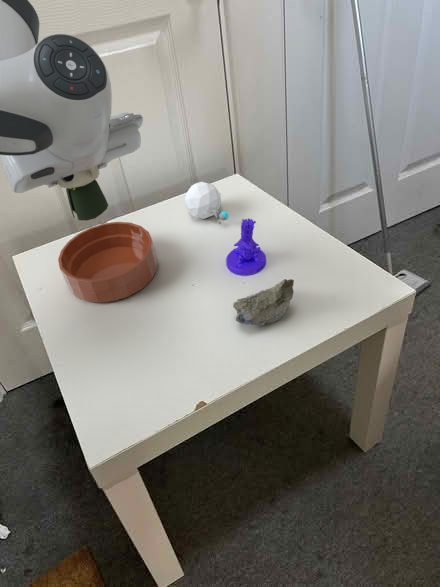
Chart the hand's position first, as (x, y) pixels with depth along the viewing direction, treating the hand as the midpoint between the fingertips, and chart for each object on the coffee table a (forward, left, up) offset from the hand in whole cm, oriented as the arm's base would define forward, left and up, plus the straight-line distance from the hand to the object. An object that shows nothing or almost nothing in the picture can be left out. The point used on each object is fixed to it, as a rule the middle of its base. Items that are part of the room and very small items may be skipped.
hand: (75, 173), depth 74 cm
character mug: (0, -1, -8) cm, 8 cm away
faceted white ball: (+24, +11, -24) cm, 36 cm away
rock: (+22, -21, -24) cm, 39 cm away
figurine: (+25, -7, -24) cm, 36 cm away
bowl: (0, +3, -24) cm, 24 cm away
